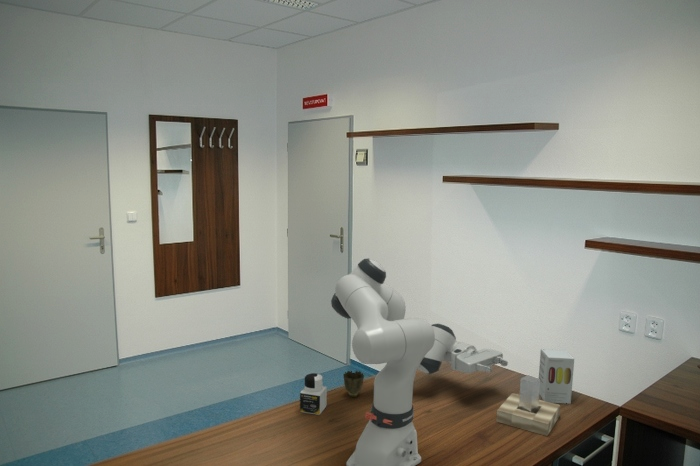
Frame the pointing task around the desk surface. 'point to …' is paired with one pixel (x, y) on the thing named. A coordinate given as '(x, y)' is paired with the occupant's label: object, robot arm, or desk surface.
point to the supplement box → (556, 376)
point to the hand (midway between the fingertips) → (498, 366)
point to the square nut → (528, 415)
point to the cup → (353, 382)
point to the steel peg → (529, 394)
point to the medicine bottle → (313, 395)
